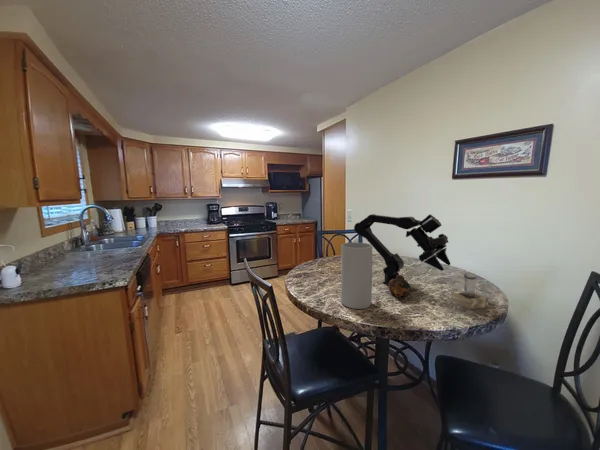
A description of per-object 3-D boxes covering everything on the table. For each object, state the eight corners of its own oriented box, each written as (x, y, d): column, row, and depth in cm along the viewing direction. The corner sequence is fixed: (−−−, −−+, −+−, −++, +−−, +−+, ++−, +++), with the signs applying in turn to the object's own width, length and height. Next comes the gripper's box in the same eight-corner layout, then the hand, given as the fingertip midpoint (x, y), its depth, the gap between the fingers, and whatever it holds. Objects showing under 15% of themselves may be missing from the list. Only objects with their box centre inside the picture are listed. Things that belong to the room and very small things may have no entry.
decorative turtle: (408, 290, 116) (410, 274, 115) (411, 304, 102) (413, 287, 101) (387, 286, 119) (388, 271, 118) (387, 300, 105) (388, 283, 104)
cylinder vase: (366, 312, 94) (367, 249, 91) (336, 305, 100) (336, 246, 98) (374, 301, 104) (375, 244, 102) (347, 295, 111) (347, 241, 108)
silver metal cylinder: (465, 305, 99) (466, 275, 98) (460, 301, 103) (462, 272, 102) (476, 306, 98) (478, 276, 97) (471, 301, 102) (473, 273, 101)
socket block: (469, 309, 95) (470, 300, 95) (450, 300, 104) (451, 292, 103) (487, 306, 97) (488, 298, 97) (467, 298, 106) (467, 290, 106)
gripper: (428, 232, 101) (456, 263, 95) (443, 225, 113) (468, 253, 107) (408, 246, 108) (433, 276, 102) (424, 239, 120) (447, 265, 115)
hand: (446, 267), depth 106 cm, fingers open, 9 cm apart
